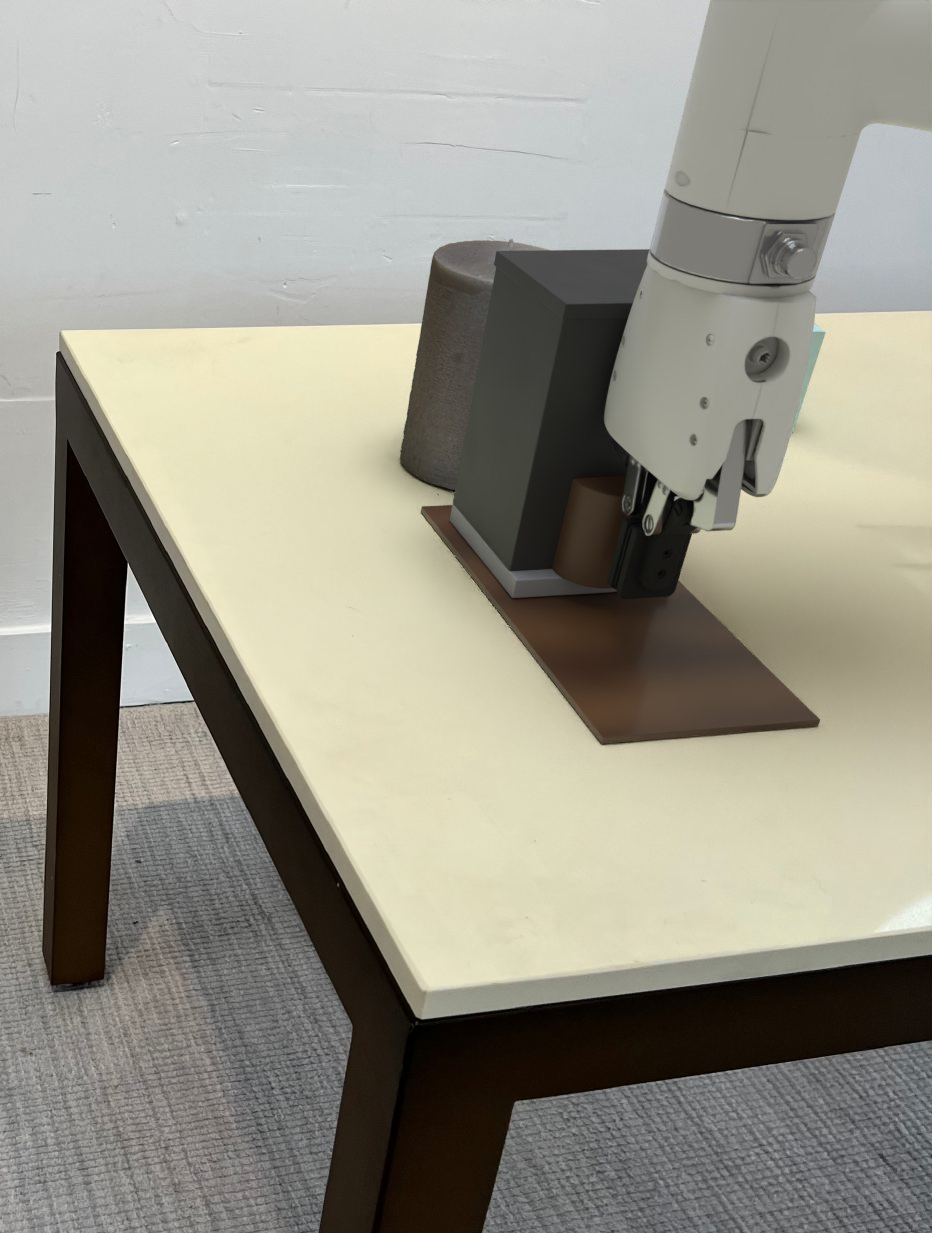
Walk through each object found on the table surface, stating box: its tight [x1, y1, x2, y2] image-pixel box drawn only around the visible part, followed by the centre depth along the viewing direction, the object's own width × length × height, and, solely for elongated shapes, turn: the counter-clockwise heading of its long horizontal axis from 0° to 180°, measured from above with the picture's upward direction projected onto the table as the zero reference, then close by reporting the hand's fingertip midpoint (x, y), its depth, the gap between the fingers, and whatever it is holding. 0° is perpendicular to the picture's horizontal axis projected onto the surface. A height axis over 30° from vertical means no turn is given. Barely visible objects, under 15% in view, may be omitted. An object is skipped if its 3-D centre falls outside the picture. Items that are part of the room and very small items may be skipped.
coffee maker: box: [450, 248, 650, 598], centre depth 79 cm, size 12×10×16 cm
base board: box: [420, 504, 821, 745], centre depth 80 cm, size 26×12×1 cm, turn 11°
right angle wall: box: [791, 322, 827, 434], centre depth 106 cm, size 12×12×8 cm
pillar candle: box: [399, 238, 549, 491], centre depth 91 cm, size 10×10×15 cm
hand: (639, 590), depth 76 cm, fingers closed
